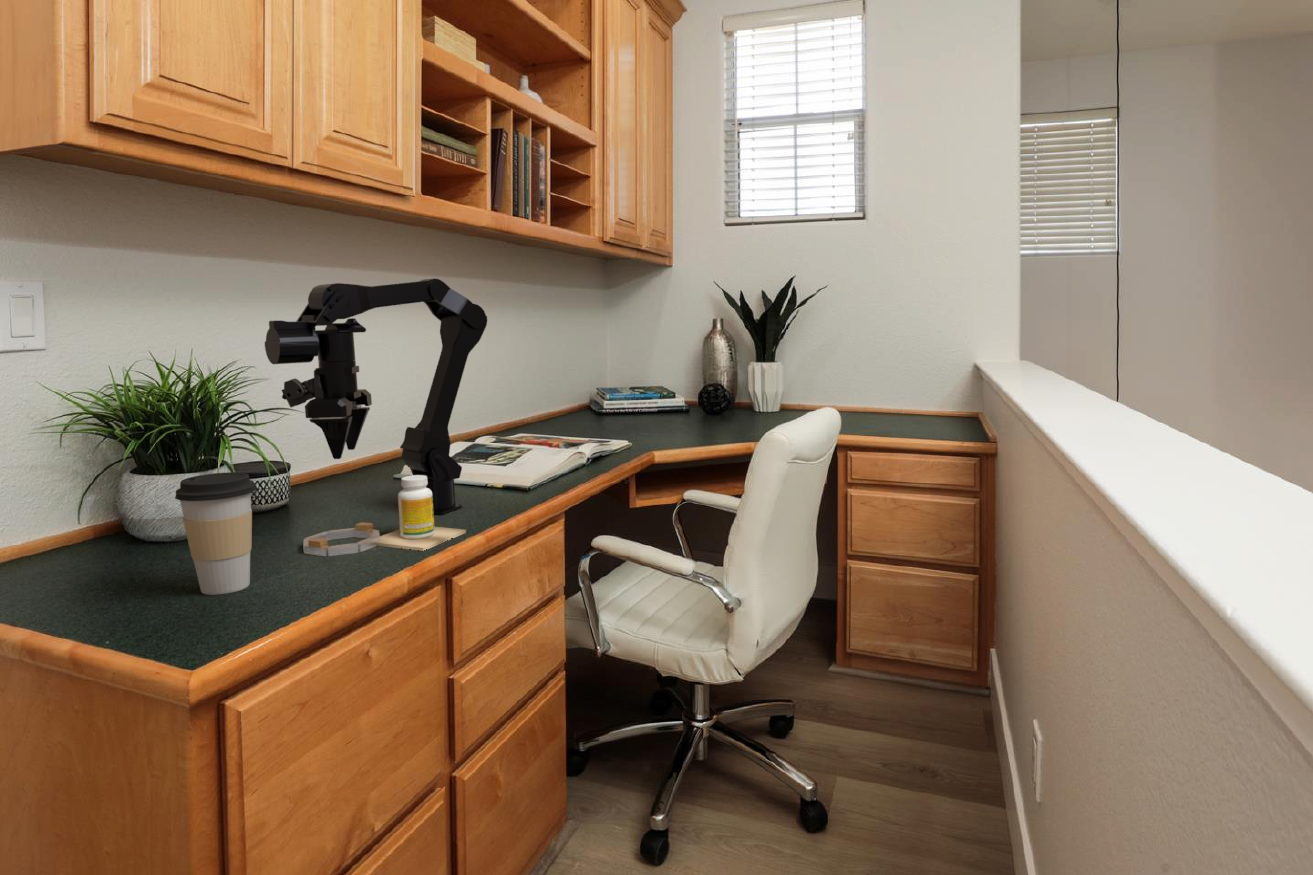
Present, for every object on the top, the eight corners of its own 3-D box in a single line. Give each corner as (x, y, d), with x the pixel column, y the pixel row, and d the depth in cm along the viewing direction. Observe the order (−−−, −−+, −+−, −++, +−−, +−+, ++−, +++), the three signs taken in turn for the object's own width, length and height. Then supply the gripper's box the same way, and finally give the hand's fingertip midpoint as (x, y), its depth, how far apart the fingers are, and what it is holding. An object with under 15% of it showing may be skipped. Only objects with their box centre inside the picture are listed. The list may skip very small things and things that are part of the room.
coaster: (412, 527, 135) (412, 524, 135) (466, 532, 131) (466, 529, 131) (366, 544, 125) (366, 541, 125) (423, 551, 121) (422, 547, 121)
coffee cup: (177, 588, 106) (164, 478, 104) (252, 571, 113) (241, 468, 111) (197, 605, 100) (184, 489, 97) (275, 586, 106) (265, 477, 104)
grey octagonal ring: (341, 532, 133) (340, 520, 132) (395, 538, 128) (394, 525, 128) (287, 551, 122) (286, 537, 122) (343, 558, 118) (342, 544, 118)
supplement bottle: (395, 535, 129) (390, 477, 127) (426, 529, 132) (422, 472, 131) (409, 541, 125) (405, 482, 123) (440, 535, 128) (437, 477, 127)
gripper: (303, 359, 139) (310, 447, 141) (265, 365, 120) (275, 466, 123) (369, 357, 140) (375, 444, 143) (341, 363, 122) (349, 463, 124)
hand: (344, 454), depth 133 cm, fingers open, 9 cm apart
